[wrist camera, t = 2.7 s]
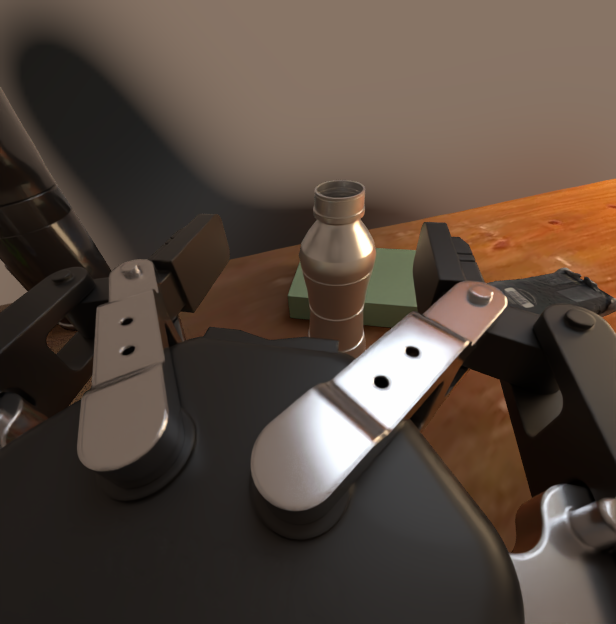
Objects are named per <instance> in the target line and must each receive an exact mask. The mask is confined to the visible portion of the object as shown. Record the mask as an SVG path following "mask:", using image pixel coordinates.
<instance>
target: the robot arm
mask: <svg viewBox="0 0 616 624" xmlns="http://www.w3.org/2000/svg"><path fill="white" fill-rule="evenodd" d="M229 257H230V251H229V246H228V242H227V238H226V235H225V231H224V227H223V223H222V220H221V218H220V216H219V215H217V214H198V215H197V216H196V217H195V218H194V219H193V220H192V221H191V222H190V223H189V224H188V225H187V226H186V227H184V228H182V229H180V230H178V231H177V232H176V233H175V234H174V235H173V236H172V237H171V239H169V240H168V241H166V243H165V245H162V246H161V247H160V248H159V249H158V250H157V251H156V252H155V253H154V254H153V255H152V256H151V257H150V258H149V259H148V260H145V259H138V260H132V261H128V262H125V263H123V264H121V265H119V266H117V267H116V268H114V269H113V270H112V271H111V270H110V268H109V266H108V265H107V263H106V261H105V260H104V258H103V256H102V255H101V253H100V252H99V250H98V249H97V247H96V245H95V244H94V242H93V241H92V239H91V237H90V236H89V234H88V233H87V231H86V229H85V228H84V226H83V225H82V223H81V221H80V220H79V218H78V217H77V215H76V214H75V212H74V210H73V209H72V207H71V206H70V204H69V203H68V201H67V199H66V198H65V196H64V195H63V193H62V191H61V190H60V189H59V187H58V185H57V184H56V182H55V180H54V179H53V177H52V176H51V174H50V173H49V171H48V169H47V167H46V166H45V164H44V162H43V160H42V158H41V156H40V154H39V152H38V151H37V149H36V147H35V145H34V144H33V142H32V140H31V139H30V137H29V135H28V134H27V132H26V130H25V129H24V127H23V125H22V124H21V122H20V120H19V119H18V117H17V115H16V113H15V112H14V110H13V108H12V106H11V105H10V103H9V101H8V100H7V98H6V96H5V94H4V92H3V91H2V89H1V87H0V259H1V260H2V261H3V262H4V264H5V267H6V268H7V269H8V270H9V271H10V273H11V274H12V275H13V276H14V277H15V278H16V279H17V280H18V281H19V282H20V283H21V285H22V286H23V287H24V288H25V289H26V290H27V291H28V292H27V293H25V294H24V295H23V296H21V297H20V298H19V299H18V300H16V301H15V302H14V303H12V304H11V305H10V306H8V307H7V308H6V309H5V310H3V311H2V312H1V313H0V624H616V333H615V332H614V330H613V329H612V328H611V326H610V325H609V324H608V322H606V321H605V320H604V319H603V318H602V317H600V316H599V315H597V314H596V313H594V312H592V311H590V310H588V309H585V308H583V307H580V306H576V305H572V304H565V303H556V304H552V305H549V306H547V307H546V308H545V309H544V311H543V312H542V314H541V315H539V314H536V313H532V312H528V311H525V310H521V309H517V308H514V307H511V306H509V305H507V303H508V302H507V298H506V296H505V295H504V294H503V293H502V292H501V291H500V290H499V289H497V288H496V287H494V286H492V285H490V284H487V283H485V282H484V279H483V277H482V275H481V272H480V270H479V268H478V265H477V263H476V262H475V258H474V256H473V255H472V251H471V249H470V247H469V245H468V244H467V243H466V242H465V241H463V240H462V239H461V238H460V237H451V235H450V232H449V229H448V227H447V224H446V223H436V222H424V223H423V225H422V228H421V232H420V236H419V241H418V245H417V249H416V253H415V257H414V262H413V281H414V288H415V295H416V303H417V310H418V312H417V311H412V312H410V313H409V314H408V315H407V316H405V317H404V318H403V319H402V320H401V321H400V322H398V323H397V324H396V325H395V326H394V327H393V328H391V329H390V330H389V331H388V332H387V333H386V334H384V335H383V336H382V337H381V338H380V339H379V340H377V341H376V342H375V343H374V344H373V345H372V346H370V347H369V348H368V349H367V350H366V351H365V352H363V353H362V354H361V355H360V356H359V357H358V358H354V357H353V356H351V355H348V354H346V353H344V352H341V351H339V340H331V339H321V338H312V337H299V338H288V339H277V340H268V339H264V338H261V337H258V336H256V335H253V334H250V333H247V332H244V331H241V330H235V329H225V328H216V327H209V328H208V330H207V332H206V333H205V335H204V337H197V338H193V339H189V340H186V338H185V334H184V330H183V326H182V323H181V320H180V318H179V316H178V314H179V313H180V311H182V312H192V313H194V312H195V310H196V309H197V308H198V306H199V305H200V303H201V302H202V300H203V299H204V297H205V296H206V294H207V293H208V291H209V290H210V288H211V287H212V285H213V284H214V282H215V281H216V279H217V278H218V276H219V275H220V274H221V272H222V271H223V269H224V268H225V266H226V265H227V263H228V261H229ZM57 324H59V325H60V326H61V327H63V328H65V329H69V330H77V331H78V332H77V333H76V334H75V335H74V336H73V337H72V338H71V339H70V340H69V341H68V342H67V343H66V345H65V346H64V347H63V348H62V349H61V350H60V351H59V352H58V353H57V354H55V353H54V352H53V351H52V350H51V349H50V348H49V347H48V346H47V344H46V337H47V335H48V333H49V332H50V331H51V330H52V329H53V328H54V327H55V326H56V325H57ZM470 369H472V370H475V371H478V372H480V373H483V374H486V375H489V376H491V377H494V378H497V379H500V382H501V386H502V390H503V393H504V397H505V401H506V404H507V408H508V412H509V415H510V419H511V423H512V426H513V430H514V434H515V437H516V441H517V445H518V448H519V452H520V455H521V459H522V463H523V466H524V470H525V474H526V477H527V481H528V485H529V488H530V492H531V496H532V498H531V499H530V500H528V501H526V502H525V503H523V504H522V505H521V506H520V507H519V509H518V510H517V513H516V519H515V524H516V543H515V546H514V549H513V550H512V552H511V553H509V552H508V550H507V548H506V546H505V544H504V542H503V541H502V539H501V537H500V535H499V534H498V532H497V530H496V529H495V527H494V526H493V524H492V523H491V522H490V520H489V519H488V518H487V516H486V515H485V514H484V513H483V511H482V510H481V509H480V508H479V506H478V505H477V504H476V502H475V501H474V500H473V499H472V497H471V496H470V495H469V494H468V492H467V491H466V490H465V488H464V487H463V486H462V485H461V483H460V482H459V481H458V480H457V478H456V477H455V476H454V474H453V473H452V472H451V471H450V469H449V468H448V467H447V466H446V464H445V463H444V462H443V460H442V459H441V458H440V457H439V455H438V454H437V453H436V452H435V450H434V449H433V448H432V446H431V445H430V444H429V443H428V441H427V440H426V439H425V438H424V436H423V435H422V434H421V433H422V432H423V430H424V429H425V428H426V426H427V425H428V424H429V422H430V421H431V419H432V418H433V417H434V415H435V413H436V412H437V410H438V409H439V408H440V406H441V405H442V404H443V402H444V401H445V400H446V399H447V397H448V396H449V395H450V394H451V392H452V391H453V390H454V389H455V388H456V386H457V385H458V384H459V383H460V381H461V380H462V379H463V378H464V376H465V375H466V374H467V373H468V372H469V370H470ZM91 376H92V386H91V388H90V390H88V391H86V392H85V393H84V395H83V397H82V399H81V400H79V401H77V402H76V403H74V404H72V405H70V406H69V404H70V403H71V402H72V401H73V399H74V398H75V397H76V395H77V394H78V393H79V392H80V390H81V389H82V388H83V387H84V385H85V384H86V383H87V381H88V380H89V379H90V378H91ZM68 406H69V407H68Z"/></svg>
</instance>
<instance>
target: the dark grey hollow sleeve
mask: <svg viewBox="0 0 616 624" xmlns="http://www.w3.org/2000/svg"><path fill="white" fill-rule="evenodd" d="M580 277H581V275H580V274H577V273H574V272H572V271H570V270H569V269H568V268H561V269H559V270H557V271H556V272H554V273H552V274H546V275H540V276H536V277H530V278H525V279H516V280H504V281H494V282H490V283H487V284H490V285H492V286H494V287H496V288H497V289H499V290H500V291H501V292H502V293H503V294H504V295H505V296H506V298H507V302H508V303H507V305H509V306H511V307H514V308H517V309H521V310H525V311H528V312H532V313H536V314H539V315H541V314H542V312H543V311H544V309H545V308H546V307H547V306H549V305H552V304H556V303H565V304H572V305H576V306H580V307H583V308H585V309H588V310H590V311H592V312H594V313H596V314H597V315H599V316H600V317H604V316H606V315H608V314H611V313H613V312H615V311H616V299H615V298H613V297H612V296H610V295H608V294H607V293H605V292H603V291H602V290H600V289H599V288H598V287H597V284H596V283H594V282H593V281H591V280H590V279H589V278H588V277H584V280H582V279H580Z"/></svg>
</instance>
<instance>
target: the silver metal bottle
mask: <svg viewBox="0 0 616 624" xmlns="http://www.w3.org/2000/svg"><path fill="white" fill-rule="evenodd" d="M364 199H365V187H364V186H363V185H362V184H360V183H358V182H355V181H349V180H335V181H328V182H325V183H322V184H320V185H318V186H317V187H316V188H315V193H314V202H315V205H314V208H313V214H314V217H315V218H316V219H317V220H316V222H315V223H314V224H313V226H312V227H311V228H310V229H309V231H308V233H307V234H306V236H305V238H304V239H303V241H302V244H301V248H300V252H299V258H300V264H301V268H302V272H303V276H304V280H305V284H306V288H307V292H308V299H309V306H310V327H309V332H308V337H312V338H321V339H331V340H339V351H341V352H344V353H346V354H348V355H351V356H353V357H354V358H358V357H359V356H360V355H361V354H362V353H363V352H364V351H365V347H366V346H365V334H364V330H363V309H364V302H365V297H366V291H367V287H368V284H369V281H370V277H371V274H372V270H373V267H374V263H375V258H376V249H375V244H374V240H373V238H372V237H371V235H370V233H369V231H368V229H367V228H366V226H365V225H364V224H363V222H362V221H361V219H360V218H362V217H363V215H364V213H365V205H364Z"/></svg>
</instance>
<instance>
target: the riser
mask: <svg viewBox="0 0 616 624" xmlns="http://www.w3.org/2000/svg"><path fill="white" fill-rule="evenodd" d="M375 249H376V258H375V263H374V267H373V270H372V274H371V277H370V281H369V284H368V287H367V291H366V297H365V302H364V309H363V325H369V326H380V327H390V328H393V327H394V326H395V325H396V324H397V323H398V322H400V321H401V320H402V319H403V318H404V317H405V316H407V315H408V314H409V313H410V312H412V311H417V312H418V310H417V303H416V295H415V288H414V281H413V262H414V257H415V253H416V250H400V249H382V248H375ZM288 303H289V311H290V318H298V319H308V320H310V306H309V299H308V292H307V288H306V284H305V280H304V276H303V272H302V268H301V264H300V263H299V266H298V269H297V271H296V274H295V277H294V280H293V282H292V285H291V288H290V291H289V293H288Z"/></svg>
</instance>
